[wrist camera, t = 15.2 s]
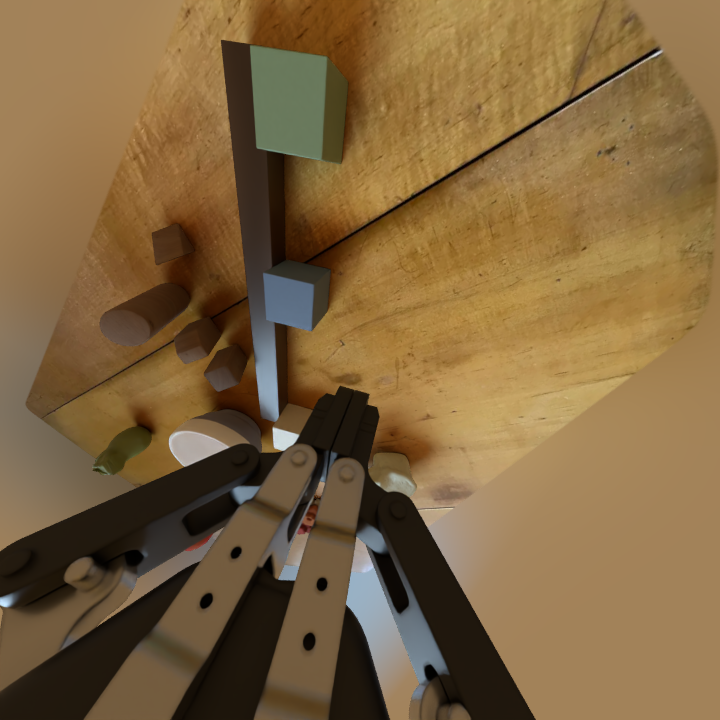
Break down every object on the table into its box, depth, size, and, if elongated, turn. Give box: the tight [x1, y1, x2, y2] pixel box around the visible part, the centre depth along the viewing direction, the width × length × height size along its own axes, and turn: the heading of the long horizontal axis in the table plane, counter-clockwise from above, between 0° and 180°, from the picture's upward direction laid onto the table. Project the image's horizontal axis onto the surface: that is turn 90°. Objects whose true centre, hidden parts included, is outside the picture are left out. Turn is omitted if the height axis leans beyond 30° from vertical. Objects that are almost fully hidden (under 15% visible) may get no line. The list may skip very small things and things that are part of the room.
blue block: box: [263, 260, 331, 331], centre depth 27 cm, size 5×5×5 cm
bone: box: [368, 453, 417, 497], centre depth 42 cm, size 13×15×8 cm
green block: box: [250, 45, 348, 164], centre depth 19 cm, size 5×5×5 cm
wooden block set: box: [100, 223, 248, 392], centre depth 30 cm, size 18×9×10 cm, turn 17°
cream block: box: [273, 403, 313, 451], centre depth 40 cm, size 5×5×5 cm
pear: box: [92, 427, 152, 475], centre depth 52 cm, size 6×5×10 cm
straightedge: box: [221, 40, 288, 422], centre depth 30 cm, size 3×38×3 cm, turn 171°
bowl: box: [169, 409, 262, 467], centre depth 44 cm, size 14×14×8 cm
